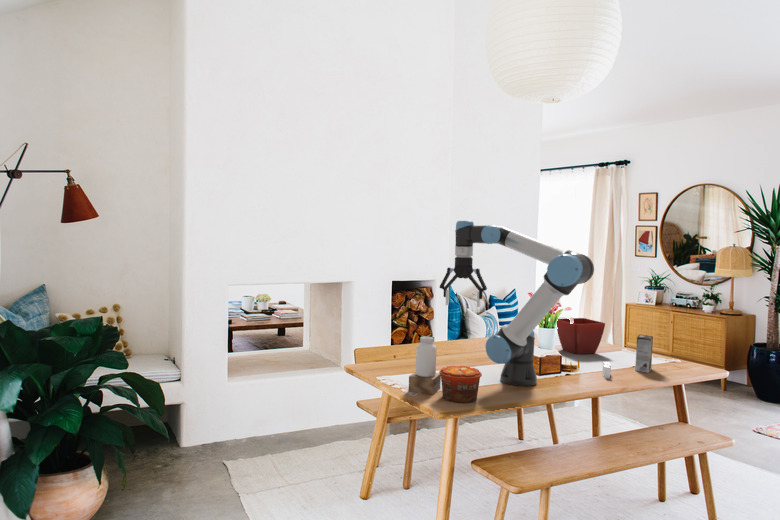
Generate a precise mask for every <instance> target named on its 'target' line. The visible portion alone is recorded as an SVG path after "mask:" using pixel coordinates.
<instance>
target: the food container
mask: <svg viewBox="0 0 780 520" xmlns="http://www.w3.org/2000/svg"><path fill="white" fill-rule="evenodd" d="M438 373H440V374H441V391H442V392H441V393H442V398H443V399H444V401H448V402H452V403H459V404H461V403H462V404H464V403H472V402H475V401H477V399H478V394H479V386H480V379H481V377H482V375H483V374H482V372H481V371H480V370H479V369H478V368H475V367H470V366H465V365H459V366H456V365H449V366H446V367H442V368H441V369H440V370H439V371H438Z"/></svg>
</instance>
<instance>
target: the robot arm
mask: <svg viewBox="0 0 780 520" xmlns="http://www.w3.org/2000/svg"><path fill="white" fill-rule="evenodd" d="M454 232H455V247H454V256H455V258H454V267H447V269H446V273H445V276H444V277H443V279H442V281H441V282H440V285H439V288H440V289H442V290H443V297H444V298H445V306H449V305H450V303H449V301H450V290H449V289H448V288H449V287H451V285H453V283H454V282H455V281H456V280H457V279H464V280H465V279H469V281H471V283H472V284H473V285H474V287H475V288H476V289H477V290H478V291H477V292H476V308H479V307H480V306H481V300H483V294H484V293H483V292H484V291H487V290H488V287H487V285H486V283H485V280H484V278H483V276H482V274H481V270H480V268H479V267H478V268H473V255H474V244H487V245H492V244H498V245H501V246H503V247H505V248H509V249H510V250H513V251H515V252H518V253H521V254H522V255H525V256H527V257H529V258H531V259H534V260H537V261H539V262H542V263H543V264H546V265H547V267H546V272H545V273H544V275H543V280H544V281H543V283H542V284H541V285H540V286H539V287H538V288H537V290H536V291H535V292H534V293H533V295H532V296H531V297H530V298H529V299H528V300H527V302H526V303H525V304H524V305H523V307H522V308H521V309H520V311H519V312H518V313H517V314H516V315H515V317H514V318H513V319H512V320H511V322H510V323H509V324H504V325H502V327H501V328H500V329H499V330H497V333H496V334H493V335H491V336H489V337H488V339H487V340H486V341H485V347H484V348H485V352H486V355H487V357H488V359H490V360H491V361H492V362H493V363H495V364H498V365H500V364H501V365H502V364H504V365H503V367H502V371H501V373H500V381H501V382H502V383H504V384H508V385H512V386H519V387H520V386H521V387H529V386H534V385H536V384H537V383H538V382H537V381H538V378H537V374H536V371H535V367H534V359H535V358H534V356H535V355H534V353H535V352H534V351H535V339H536V337H535V331H534V330H535V329H536V327H537V326H538V325H539V324H540V323H541V322H542V320H543V319H544V318H545V317H546V316H547V315H548V314H549V312H550V311H551V310H552V309H553V307H555V305H556V303H558V301H559V300H560V299H561V298H562V297H563V296H569V295H570V294H571V293H572V292H573V290H575V288H576V287H577V286H578V285H582V284H584V283H587V282H588V281H589V280H590V279H592V277H593V275H594V273H595V267H594V265H595V264H594V263H593V260H591V258H590V257H589V256H587V255H586V254H583V253H579V252H576V251H572V250H570V249H568V250H564V249H560V248H558V247H555V246H552V245H550V244H548V243H546V242H543V241H540V240H539V239H538V240H537V239H535V238H533V237H530V236H527V235H525V234H523V233H519V232H517V231H514V230H512V229H511V227H508V226H506V225H505V226H504V225H493V224H492V225H491V224H490V225H489V224H488V225H486V224H485V225H474V221H473V220H458V221H456V223H455V231H454ZM473 272H474V274H475V275H476V277H477V278H478V281H477V280H476V279H475V278H474V276H473V275H472V274H473ZM451 273H454V275H453V276H452V278H451V279H449V277H450V275H451ZM448 279H449V281H448ZM447 281H448V282H447ZM478 282H479V283H480V284H479V283H478ZM446 283H447V284H446Z"/></svg>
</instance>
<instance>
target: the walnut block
mask: <svg viewBox="0 0 780 520" xmlns="http://www.w3.org/2000/svg"><path fill="white" fill-rule="evenodd" d="M441 385H442V382H441V374H440V373H439V372H436V373H435V376H433V377H421V376H418V375H416V371H414V372H413V373H412V374H410V375H409V376H408V392H411V393H417V394H425V395H430V396H431V395H434V394H435V393H437V392H438V391H439V390H440V389H441Z"/></svg>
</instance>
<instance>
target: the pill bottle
mask: <svg viewBox="0 0 780 520" xmlns="http://www.w3.org/2000/svg"><path fill="white" fill-rule="evenodd" d="M434 341H435V340H434V337H432V336H428V335H427V336H420V343H418V344H417V346H416V354H415V355H416V356H415V372H416V375H418V376H421V377H433V376H435V373H437V372H436V370H437V346H436V344H434Z"/></svg>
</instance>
